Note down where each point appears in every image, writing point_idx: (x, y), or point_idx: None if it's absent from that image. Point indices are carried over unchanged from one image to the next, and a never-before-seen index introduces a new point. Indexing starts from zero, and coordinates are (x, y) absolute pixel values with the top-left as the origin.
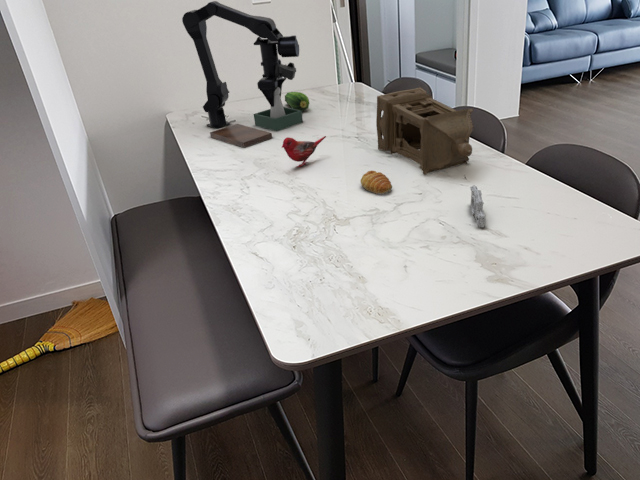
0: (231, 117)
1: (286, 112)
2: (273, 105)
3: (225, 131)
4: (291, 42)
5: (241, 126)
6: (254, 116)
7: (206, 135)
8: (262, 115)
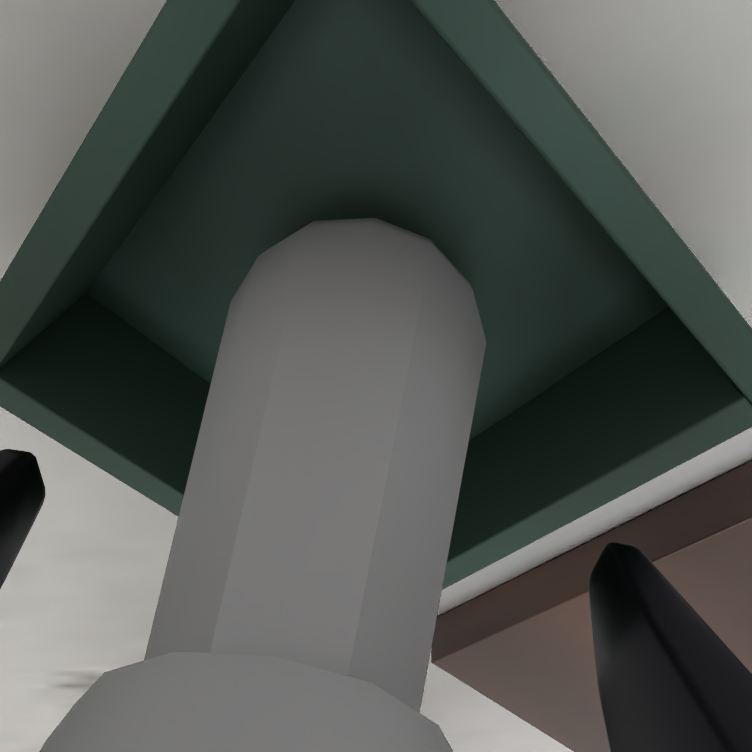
0: (109, 660)
1: (110, 228)
2: (644, 569)
3: None
4: None
5: (544, 639)
6: None
7: (538, 746)
8: (469, 556)
